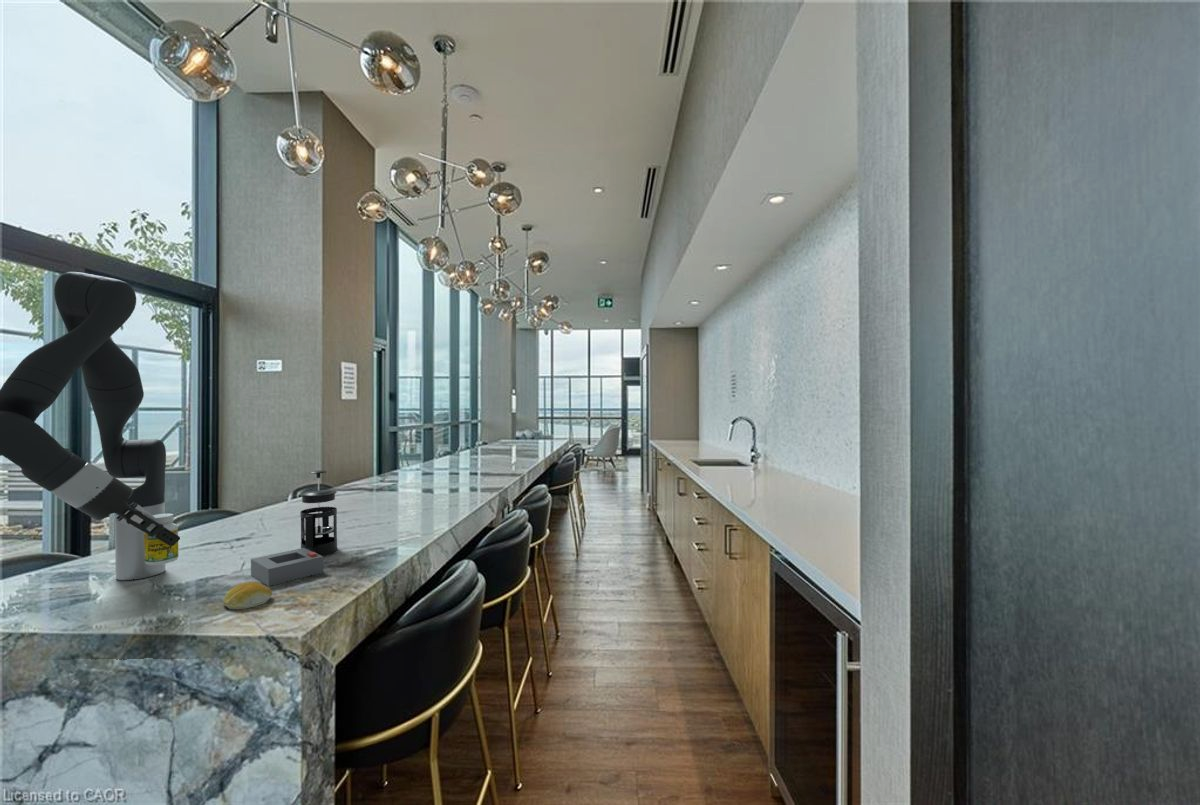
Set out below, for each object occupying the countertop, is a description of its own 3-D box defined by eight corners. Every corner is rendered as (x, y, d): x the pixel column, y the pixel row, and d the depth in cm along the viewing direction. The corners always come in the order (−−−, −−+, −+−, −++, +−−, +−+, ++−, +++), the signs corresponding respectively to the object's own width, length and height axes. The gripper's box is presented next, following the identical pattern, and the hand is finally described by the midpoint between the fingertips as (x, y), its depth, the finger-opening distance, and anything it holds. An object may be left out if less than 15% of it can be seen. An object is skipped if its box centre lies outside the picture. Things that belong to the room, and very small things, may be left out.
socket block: (251, 575, 126) (250, 556, 126) (303, 562, 136) (303, 545, 136) (268, 586, 119) (268, 566, 119) (323, 572, 128) (323, 554, 128)
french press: (310, 547, 150) (309, 468, 149) (344, 546, 150) (343, 467, 150) (290, 560, 138) (289, 474, 138) (327, 559, 139) (326, 473, 139)
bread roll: (261, 592, 116) (261, 574, 116) (276, 601, 110) (276, 583, 110) (217, 603, 110) (217, 584, 110) (230, 614, 104) (230, 594, 104)
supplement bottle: (180, 555, 111) (179, 511, 111) (176, 562, 107) (176, 516, 106) (147, 560, 108) (146, 514, 108) (142, 567, 104) (141, 519, 104)
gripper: (117, 479, 97) (197, 530, 106) (106, 471, 106) (180, 518, 115) (77, 512, 93) (164, 562, 102) (69, 501, 102) (149, 547, 111)
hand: (172, 539), depth 109 cm, fingers closed on supplement bottle, 5 cm apart
